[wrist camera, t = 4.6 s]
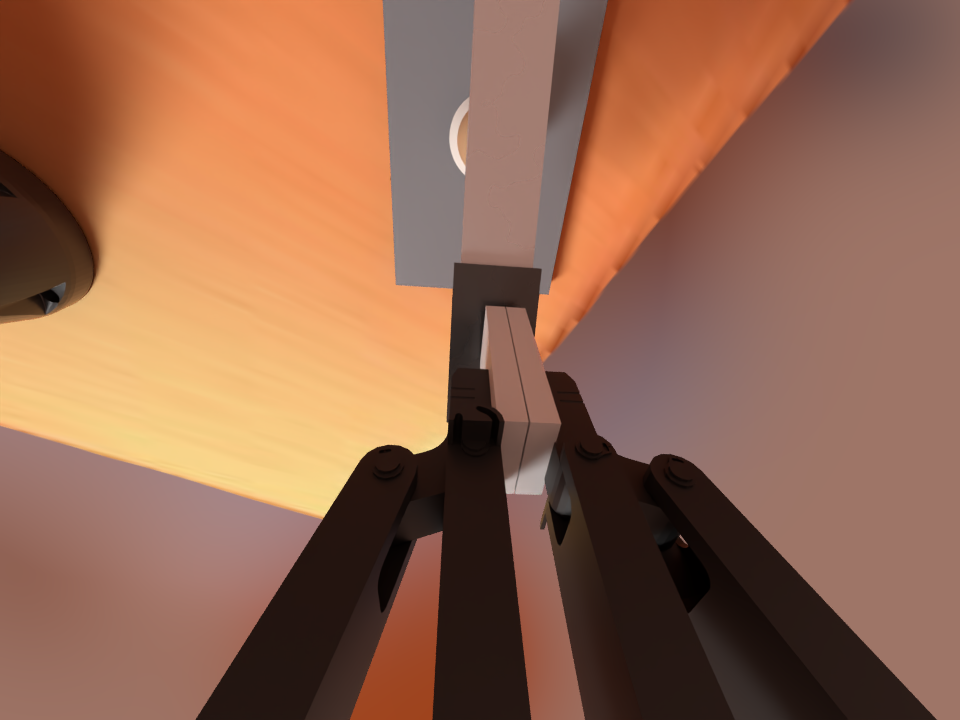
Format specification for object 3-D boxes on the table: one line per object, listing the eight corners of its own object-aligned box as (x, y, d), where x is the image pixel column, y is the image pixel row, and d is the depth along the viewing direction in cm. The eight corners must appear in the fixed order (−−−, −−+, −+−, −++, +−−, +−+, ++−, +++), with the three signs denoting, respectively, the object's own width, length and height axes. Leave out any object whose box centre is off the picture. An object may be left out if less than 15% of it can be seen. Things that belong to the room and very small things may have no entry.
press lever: (448, 398, 19) (446, 422, 16) (475, -184, 13) (480, -306, 11) (514, 400, 20) (525, 424, 17) (570, -168, 14) (601, -282, 11)
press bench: (399, 276, 34) (366, 358, 23) (380, -174, 20) (268, -572, 8) (544, 286, 36) (584, 368, 24) (625, -134, 21) (822, -439, 10)
